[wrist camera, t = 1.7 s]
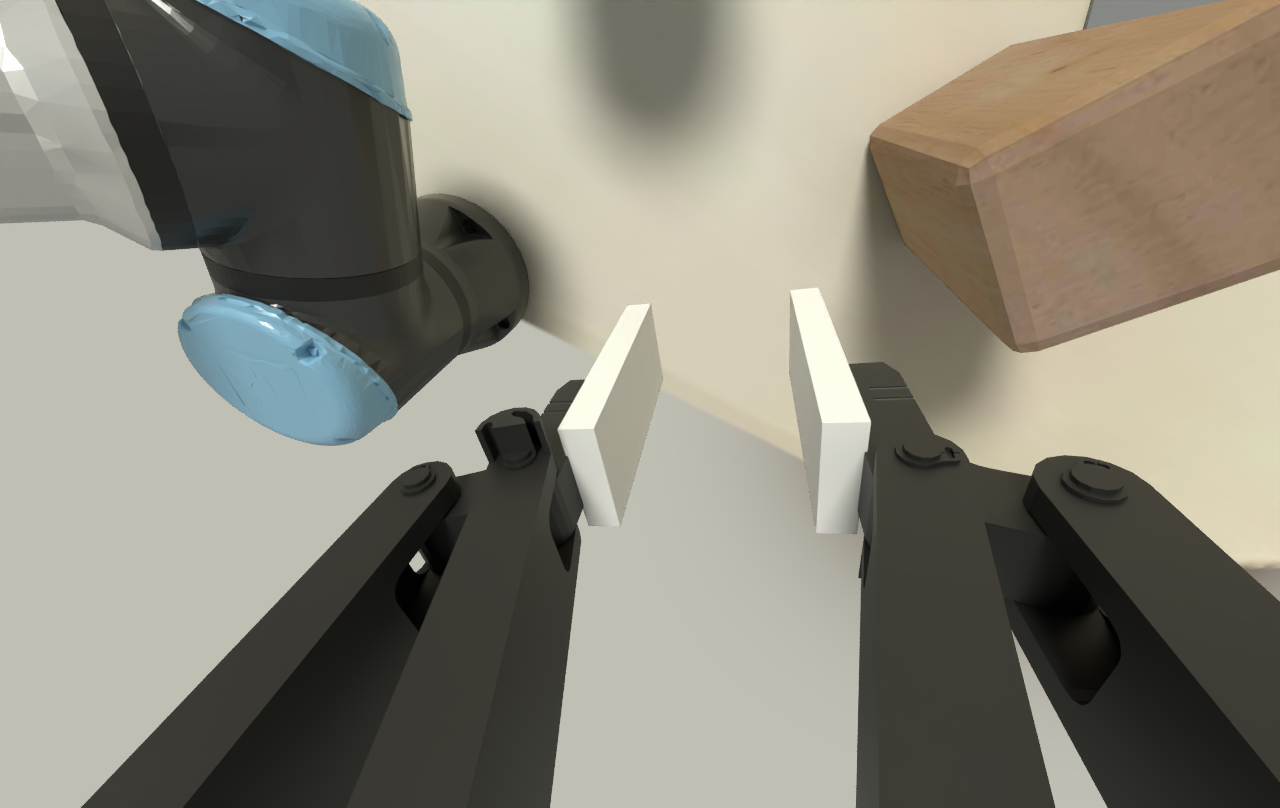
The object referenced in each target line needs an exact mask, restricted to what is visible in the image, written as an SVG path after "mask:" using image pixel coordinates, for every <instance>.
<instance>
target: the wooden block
mask: <svg viewBox="0 0 1280 808" xmlns="http://www.w3.org/2000/svg"><path fill="white" fill-rule="evenodd" d="M869 148H870V151H871V153H872V156H873V159H874V162H875V164H876V167H877V170H878V173H879V175H880V178H881V181H882V184H883V186H884V189H885V192H886V195H887V197H888V200H889V203H890V206H891V208H892V211H893V214H894V217H895V219H896V222H897V225H898V228H899V230H900V233H901V236H902V239H903V241H904V244H905V245H906V246H907V247H908V248H909V249H910V250H911V251H912V252H913V253H914V254H915V255H916V256H917V257H918V258H919V259H920V260H921V261H922V262H923V263H924V264H925V265H926V266H927V267H928V268H929V269H930V270H931V271H932V272H933V273H934V274H935V275H936V276H937V277H938V278H939V279H940V280H941V281H942V282H943V283H944V284H945V285H946V286H947V287H948V288H949V289H950V290H951V291H952V292H953V293H954V294H955V295H956V296H957V297H958V298H959V299H960V300H961V301H962V302H963V303H964V304H965V305H966V306H967V307H968V308H969V309H970V310H971V311H972V312H973V313H974V314H975V315H976V316H977V317H978V318H979V319H980V320H981V321H982V322H983V323H984V324H985V325H986V326H987V327H988V328H989V329H990V330H991V331H992V332H993V333H994V334H995V335H996V336H997V337H998V338H999V339H1000V340H1001V341H1002V342H1004V343H1005V344H1006V345H1007V346H1008V347H1009V348H1011V349H1012V350H1013V351H1016V352H1020V353H1024V352H1035V351H1040V350H1043V349H1046V348H1049V347H1052V346H1055V345H1058V344H1061V343H1064V342H1067V341H1070V340H1073V339H1076V338H1079V337H1082V336H1085V335H1088V334H1091V333H1093V332H1096V331H1099V330H1102V329H1105V328H1108V327H1111V326H1114V325H1117V324H1120V323H1123V322H1126V321H1129V320H1132V319H1135V318H1138V317H1141V316H1144V315H1147V314H1150V313H1153V312H1156V311H1159V310H1162V309H1164V308H1167V307H1170V306H1173V305H1176V304H1179V303H1182V302H1185V301H1188V300H1191V299H1194V298H1197V297H1200V296H1203V295H1206V294H1209V293H1212V292H1215V291H1218V290H1221V289H1224V288H1227V287H1230V286H1233V285H1236V284H1238V283H1241V282H1244V281H1247V280H1250V279H1253V278H1256V277H1259V276H1262V275H1265V274H1268V273H1271V272H1274V271H1277V270H1280V0H1225V1H1220V2H1216V3H1211V4H1206V5H1201V6H1196V7H1191V8H1187V9H1182V10H1177V11H1172V12H1167V13H1163V14H1158V15H1153V16H1148V17H1143V18H1139V19H1134V20H1129V21H1124V22H1119V23H1114V24H1110V25H1105V26H1100V27H1095V28H1090V29H1086V30H1081V31H1076V32H1071V33H1066V34H1062V35H1057V36H1052V37H1047V38H1042V39H1037V40H1033V41H1028V42H1023V43H1019V44H1014V45H1011V46H1009V47H1007V48H1006V49H1004V50H1002V51H1001V52H999V53H997V54H996V55H994V56H993V57H991V58H989V59H988V60H986V61H984V62H983V63H981V64H979V65H978V66H976V67H974V68H973V69H971V70H969V71H968V72H966V73H964V74H963V75H961V76H959V77H958V78H956V79H955V80H953V81H951V82H950V83H948V84H946V85H945V86H943V87H941V88H940V89H938V90H936V91H935V92H933V93H931V94H930V95H928V96H926V97H925V98H923V99H921V100H920V101H918V102H917V103H915V104H913V105H912V106H910V107H908V108H907V109H905V110H903V111H902V112H900V113H898V114H897V115H895V116H893V117H892V118H890V119H888V120H887V121H885V122H883V123H882V124H880V125H879V126H878V127H877V128H876V129H875V130H874V131H873V133H872V134H871V135H870V144H869Z"/></svg>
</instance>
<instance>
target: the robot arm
mask: <svg viewBox="0 0 1280 808" xmlns="http://www.w3.org/2000/svg"><path fill="white" fill-rule="evenodd" d="M410 121H412V114H411V111H410V110H409V109H408V107H407V102H406V97H405V90H404V83H403V76H402V69H401V63H400V56H399V51H398V47H397V44H396V42H395V40H394V38H393V36H392V34H391V32H390V31H389V29H388V28H387V26H386V25H385V24H384V23H383V21H382V20H381V19H380V18H379V17H377V16H376V15H375V14H374V13H373V12H372V11H370V10H369V9H368V8H366V7H364V6H363V5H361V4H359V3H357V2H355V1H353V0H0V223H23V222H49V221H73V220H74V221H75V220H85V221H88V222H92V223H96V224H99V225H103V226H105V227H107V228H109V229H111V230H113V231H115V232H117V233H119V234H121V235H123V236H125V237H126V238H128V239H131V240H133V241H135V242H136V243H138V244H141V245H142V246H144V247H146V248H148V249H150V250H160V251H163V250H176V249H189V248H199V249H200V251H201V253H202V256H203V258H204V261H205V264H206V266H207V269H208V271H209V274H210V277H211V280H212V282H213V285H214V288H215V294H214V293H213V294H209V295H204V296H201V297H199V298H197V299H195V300H194V302H193V303H192V305H191V306H190V307H188V308H186V310H185V311H184V312H183V316H182V319H181V320H180V321H179V323H178V335H179V339H180V342H181V345H182V348H183V350H184V352H185V354H186V356H187V357H188V359H189V361H190V362H191V364H192V365H193V366H194V368H195V369H196V371H197V372H198V373H199V374H200V376H201V377H202V378H203V379H204V380H205V381H206V382H207V383H208V384H209V385H210V386H211V387H212V388H213V389H214V390H215V391H216V392H217V393H218V394H219V395H220V396H221V397H223V398H224V399H225V400H226V401H227V402H228V403H230V404H231V405H232V406H233V407H235V408H237V409H238V410H239V411H241V412H242V413H244V414H245V415H247V416H248V417H250V418H251V419H253V420H254V421H256V422H258V423H259V424H261V425H263V426H265V427H267V428H269V429H271V430H273V431H275V432H277V433H279V434H282V435H284V436H286V437H289V438H292V439H295V440H298V441H302V442H306V443H310V444H316V445H328V446H335V445H343V444H348V443H352V442H354V441H356V440H359V439H361V438H362V437H364V436H365V435H367V434H368V433H369V432H370V431H372V430H373V429H374V428H376V427H377V426H378V425H380V424H381V423H382V422H385V421H387V420H389V419H391V418H393V417H394V416H395V414H396V413H397V411H398V410H399V409H400V408H401V407H402V406H403V405H405V404H406V403H407V402H408V401H409V400H410V399H411V398H412V397H413V396H414V395H415V394H416V393H417V392H419V391H420V390H421V389H422V388H423V387H424V386H425V385H426V384H427V383H428V382H429V381H430V380H431V379H432V378H434V377H435V376H436V375H437V374H438V373H439V372H440V371H441V370H442V369H443V368H444V367H445V366H446V365H448V364H449V363H450V362H451V361H452V360H453V359H454V358H455V357H456V356H457V355H460V354H464V353H467V352H471V351H474V350H478V349H482V348H485V347H488V346H491V345H493V344H495V343H496V342H498V341H500V340H501V339H503V338H504V337H505V336H506V335H507V334H508V333H509V332H510V331H511V330H512V329H513V328H514V327H515V326H516V325H517V324H518V323H519V321H520V320H521V318H522V316H523V314H524V312H525V309H526V306H527V302H528V294H529V284H528V276H527V271H526V267H525V264H524V261H523V259H522V256H521V254H520V252H519V250H518V248H517V246H516V244H515V242H514V241H513V239H512V238H511V236H510V235H509V234H508V232H507V231H506V230H505V229H504V227H503V226H502V225H501V224H500V223H499V222H498V221H497V220H496V219H495V218H494V217H492V216H491V215H490V214H489V213H488V212H486V211H485V210H483V209H482V208H480V207H479V206H477V205H475V204H474V203H472V202H470V201H467V200H465V199H462V198H459V197H456V196H452V195H446V194H430V195H425V196H421V197H418V198H417V195H416V184H415V173H414V163H413V152H412V141H411V130H410ZM789 374H790V380H791V386H792V392H793V398H794V404H795V410H796V416H797V422H798V428H799V434H800V440H801V446H802V452H803V458H804V464H805V469H806V476H807V481H808V487H809V493H810V500H811V505H812V511H813V518H814V523H815V530H816V533H832V534H857V530H858V522H859V517H860V521H861V524H862V528H863V532H864V541H863V548H862V555H861V562H860V569H859V578H861V614H860V615H861V618H860V659H859V701H858V744H857V788H856V790H857V791H856V808H1055V805H1054V800H1053V796H1052V792H1051V788H1050V784H1049V780H1048V776H1047V772H1046V768H1045V764H1044V760H1043V756H1042V752H1041V748H1040V744H1039V740H1038V736H1037V733H1036V728H1035V724H1034V720H1033V716H1032V712H1031V708H1030V704H1029V700H1028V696H1027V692H1026V688H1025V684H1024V680H1023V676H1022V672H1021V667H1020V663H1019V659H1018V655H1017V652H1016V648H1015V643H1014V639H1013V635H1012V631H1013V633H1014V635H1015V637H1016V638H1017V640H1018V643H1019V644H1020V646H1021V648H1022V650H1023V652H1024V654H1025V655H1026V657H1027V659H1028V661H1029V663H1030V665H1031V667H1032V668H1033V670H1034V672H1035V674H1036V676H1037V678H1038V680H1039V681H1040V683H1041V685H1042V687H1043V689H1044V691H1045V693H1046V694H1047V696H1048V698H1049V700H1050V702H1051V704H1052V705H1053V707H1054V709H1055V711H1056V713H1057V715H1058V717H1059V718H1060V720H1061V722H1062V724H1063V726H1064V728H1065V729H1066V731H1067V733H1068V735H1069V737H1070V739H1071V740H1072V742H1073V744H1074V746H1075V748H1076V750H1077V752H1078V753H1079V755H1080V757H1081V759H1082V761H1083V763H1084V765H1085V766H1086V768H1087V770H1088V772H1089V774H1090V776H1091V778H1092V779H1093V781H1094V783H1095V785H1096V787H1097V789H1098V791H1099V792H1100V794H1101V796H1102V798H1103V800H1104V802H1105V803H1106V805H1107V807H1108V808H1280V602H1279V601H1278V600H1277V599H1276V598H1275V597H1274V596H1273V595H1272V594H1271V593H1270V592H1268V591H1267V590H1266V589H1265V588H1264V587H1263V586H1262V585H1261V584H1260V583H1258V582H1257V581H1256V580H1255V579H1254V578H1253V577H1252V576H1251V575H1250V574H1248V573H1247V572H1246V571H1245V570H1244V569H1243V568H1242V567H1241V566H1240V565H1238V564H1237V563H1236V562H1235V561H1234V560H1233V559H1232V558H1231V557H1230V556H1228V555H1227V554H1226V553H1225V552H1224V551H1223V550H1222V549H1221V548H1220V547H1219V546H1217V545H1216V544H1215V543H1214V542H1213V541H1212V540H1211V539H1210V538H1209V537H1207V536H1206V535H1205V534H1204V533H1203V532H1202V531H1201V530H1200V529H1199V528H1197V527H1196V526H1195V525H1194V524H1193V523H1192V522H1191V521H1190V520H1189V519H1187V518H1186V517H1185V516H1184V515H1183V514H1182V513H1181V512H1180V511H1179V510H1178V509H1176V508H1175V507H1174V506H1173V505H1172V504H1171V503H1170V502H1169V501H1168V500H1166V499H1165V498H1164V497H1163V496H1162V495H1161V494H1160V493H1159V492H1158V491H1156V490H1155V489H1154V488H1153V487H1152V486H1151V485H1150V484H1148V483H1147V482H1145V481H1144V480H1142V479H1141V478H1140V477H1138V476H1137V475H1135V474H1134V473H1132V472H1130V471H1128V470H1125V469H1123V468H1121V467H1118V466H1116V465H1114V464H1111V463H1108V462H1104V461H1101V460H1096V459H1092V458H1088V457H1079V456H1066V455H1063V456H1056V457H1050V458H1046V459H1044V460H1043V461H1041V462H1039V463H1037V464H1036V466H1035V468H1034V471H1033V473H1032V476H1028V475H1022V474H1017V473H1011V472H1006V471H1000V470H995V469H990V468H986V467H982V466H978V465H975V464H973V463H970V462H969V459H968V458H967V456H966V454H965V453H964V451H963V450H962V449H961V448H960V447H958V446H957V445H956V444H954V443H953V442H951V441H950V440H947V439H945V438H942V437H940V436H937V435H934V433H933V431H932V429H931V428H930V426H929V424H928V422H927V421H926V419H925V417H924V415H923V414H922V412H921V410H920V408H919V407H918V405H917V403H916V401H915V400H914V399H913V396H912V394H911V393H910V391H909V389H908V388H907V385H906V384H905V382H904V380H903V378H902V377H901V375H900V373H899V372H897V371H896V370H894V369H893V368H891V367H890V366H888V365H887V364H885V363H883V362H878V363H859V364H848V362H847V360H846V357H845V354H844V352H843V349H842V347H841V344H840V342H839V339H838V337H837V334H836V332H835V329H834V327H833V324H832V322H831V319H830V316H829V314H828V311H827V309H826V306H825V304H824V301H823V299H822V296H821V294H820V291H819V289H818V288H809V289H798V290H790V356H789ZM662 381H663V376H662V370H661V364H660V358H659V351H658V345H657V339H656V333H655V326H654V320H653V314H652V308H651V303H649V304H638V305H628V306H627V307H626V309H625V311H624V312H623V314H622V316H621V318H620V319H619V321H618V323H617V325H616V327H615V328H614V330H613V332H612V334H611V335H610V337H609V339H608V341H607V343H606V344H605V346H604V348H603V350H602V351H601V353H600V355H599V357H598V358H597V360H596V362H595V364H594V366H593V367H592V369H591V371H590V373H589V374H588V376H587V378H586V380H571V381H569V382H568V383H566V384H565V385H564V386H562V387H561V388H560V389H558V390H557V391H556V393H555V395H554V396H553V398H552V399H551V401H550V404H548V405H547V407H546V409H545V410H544V414H542V415H541V416H540V415H539V413H537V412H536V411H535V410H533V409H530V408H526V407H525V408H512V409H509V410H504V411H501V412H499V413H497V414H495V415H492V416H490V417H489V418H488V419H486V420H485V421H483V422H482V423H481V424H480V425H479V427H478V428H477V429H476V430H475V432H476V434H477V437H478V439H479V441H480V443H481V446H482V448H483V450H484V452H485V455H486V457H487V459H488V461H489V465H488V467H487V469H486V470H484V471H480V472H476V473H472V474H467V475H463V476H458V477H456V476H455V474H454V472H453V471H452V468H451V467H450V466H449V465H448V464H447V463H444V462H439V461H436V462H428V463H423V464H420V465H417V466H415V467H412V468H411V469H409V470H408V471H406V472H404V473H402V474H401V475H400V476H399V477H398V478H396V479H395V480H394V481H393V482H392V483H391V484H390V485H389V486H388V487H387V488H386V489H385V490H384V491H383V492H382V493H381V494H380V495H379V497H377V498H376V500H375V501H374V502H373V503H372V504H371V505H370V506H369V507H368V508H367V509H366V510H365V511H364V512H363V513H362V514H361V515H360V516H359V517H358V518H357V519H356V520H355V522H354V523H353V524H352V525H351V526H350V527H349V528H348V529H347V530H346V531H345V532H344V533H343V534H342V535H341V536H340V537H339V538H338V539H337V540H336V541H335V542H334V543H333V545H332V546H331V547H330V548H329V549H328V550H327V551H326V552H325V553H324V554H323V555H322V556H321V557H320V558H319V559H318V560H317V561H316V562H315V563H314V565H312V567H311V568H310V569H309V570H308V571H307V572H306V573H305V574H304V575H303V576H302V577H301V578H300V579H299V580H298V581H297V582H296V583H295V584H294V585H293V586H292V587H291V589H290V590H289V591H288V592H287V593H286V594H285V595H284V596H283V597H282V598H281V599H280V600H279V601H278V602H277V603H276V604H275V605H274V606H273V608H271V609H270V610H269V611H268V613H267V614H266V615H265V616H264V617H263V618H262V619H261V620H260V621H259V622H258V623H257V624H256V625H255V626H254V627H253V628H252V629H251V630H250V631H249V632H248V633H247V635H246V636H245V637H244V638H243V639H242V640H241V641H240V642H239V643H238V644H237V645H236V646H235V647H234V648H233V649H232V650H231V651H230V652H229V653H228V654H227V656H225V658H224V659H223V660H222V661H221V662H220V663H219V664H218V665H217V666H216V667H215V668H214V669H213V670H212V671H211V672H210V673H209V674H208V675H207V676H206V677H205V678H204V679H203V681H202V682H201V683H200V684H199V685H198V686H197V687H196V688H195V689H194V690H193V691H192V692H191V693H190V694H189V695H188V696H187V697H186V698H185V699H184V701H183V702H182V703H181V704H180V705H179V706H178V707H177V708H176V709H175V710H174V711H173V712H172V713H171V714H170V715H169V716H168V717H167V718H166V719H165V720H164V721H163V722H162V723H161V725H160V726H159V727H158V728H157V729H156V730H155V731H154V732H153V733H152V734H151V735H150V736H149V737H148V738H147V739H146V740H145V741H144V742H143V744H141V745H140V746H139V748H138V749H137V750H136V751H135V752H134V753H133V754H132V755H131V756H130V757H129V758H128V759H127V760H126V761H125V762H124V763H123V764H122V765H121V766H120V767H119V768H118V770H117V771H116V772H115V773H114V774H113V775H112V776H111V777H110V778H109V779H108V780H107V781H106V782H105V783H104V784H103V785H102V786H101V787H100V788H99V789H98V790H97V792H95V794H94V795H93V796H92V797H91V798H90V799H89V800H88V801H87V802H86V803H85V804H84V805H83V806H82V807H81V808H550V802H551V793H552V785H553V776H554V767H555V759H556V751H557V742H558V734H559V724H560V717H561V707H562V700H563V691H564V683H565V674H566V666H567V656H568V649H569V640H570V631H571V623H572V613H573V606H574V597H575V588H576V580H577V571H578V563H579V555H580V546H581V536H580V531H579V528H578V525H577V522H578V519H579V517H580V514H581V512H582V509H583V510H584V513H585V516H586V519H587V522H588V525H589V526H612V527H620V526H621V522H622V519H623V516H624V512H625V509H626V505H627V502H628V498H629V495H630V491H631V488H632V484H633V481H634V478H635V474H636V471H637V467H638V464H639V460H640V457H641V453H642V450H643V446H644V443H645V439H646V436H647V432H648V429H649V426H650V422H651V418H652V415H653V412H654V408H655V405H656V401H657V398H658V395H659V391H660V388H661V384H662ZM418 551H419V552H420V554H421V555H422V557H423V559H424V560H425V564H424V565H423V567H422V568H421V569H420V570H419V571H417V572H414V571H413V569H412V568H411V566H410V565H409V562H410V561H411V560H412V558H413V557H414V556H415V554H416V553H417V552H418ZM1011 630H1012V631H1011Z"/></svg>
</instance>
